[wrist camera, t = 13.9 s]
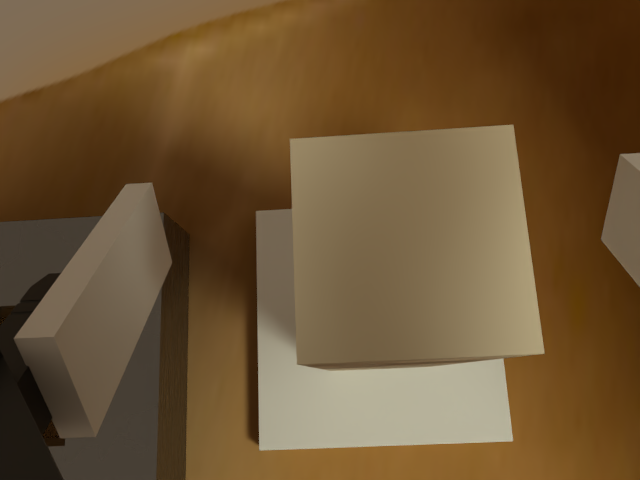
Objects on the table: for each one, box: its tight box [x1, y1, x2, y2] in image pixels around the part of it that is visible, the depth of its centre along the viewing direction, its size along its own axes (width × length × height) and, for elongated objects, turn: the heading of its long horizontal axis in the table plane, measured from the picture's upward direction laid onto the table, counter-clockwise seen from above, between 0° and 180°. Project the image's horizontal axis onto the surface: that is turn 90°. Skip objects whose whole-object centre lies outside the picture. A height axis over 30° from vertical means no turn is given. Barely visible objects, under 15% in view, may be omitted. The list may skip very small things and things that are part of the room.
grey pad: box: [256, 209, 513, 450], centre depth 23 cm, size 10×10×1 cm
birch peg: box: [290, 125, 545, 371], centre depth 16 cm, size 4×4×14 cm
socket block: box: [0, 213, 189, 480], centre depth 22 cm, size 12×12×4 cm
